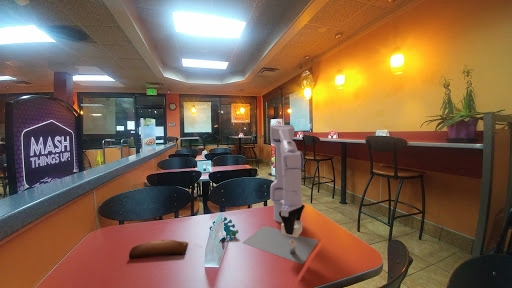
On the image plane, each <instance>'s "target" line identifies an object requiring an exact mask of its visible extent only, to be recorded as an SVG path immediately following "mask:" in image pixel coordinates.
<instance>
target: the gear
mask: <svg viewBox="0 0 512 288" xmlns="http://www.w3.org/2000/svg"><path fill="white" fill-rule="evenodd" d="M232 220H233V219H228V218H227V217H226V216H224V217H223V221H222V222H224V226H225V227H224V231H225V232H226V237H228V239H229V241H231V240H233V239H234V238H233V237H235V236H237V235H238V234H239V230H238V229H236V225H235V223H234V224H232V223H233V221H232ZM215 221H216V220H214V221H212V225H214V223H215ZM226 221H227V222H226ZM212 225H211V226H210V227H209V230H210V231H212V230H211V228H212V227H213V226H212ZM214 226H215V225H214ZM231 228H232V229H231ZM234 229H235V230H234Z"/></svg>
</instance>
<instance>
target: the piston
mask: <svg viewBox="0 0 512 288" xmlns="http://www.w3.org/2000/svg"><path fill="white" fill-rule="evenodd" d="M289 251H290V254H295V253H296V241H295V240H294V239H291V240H289Z"/></svg>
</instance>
